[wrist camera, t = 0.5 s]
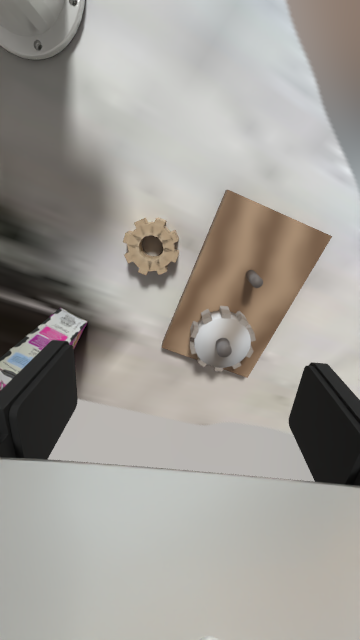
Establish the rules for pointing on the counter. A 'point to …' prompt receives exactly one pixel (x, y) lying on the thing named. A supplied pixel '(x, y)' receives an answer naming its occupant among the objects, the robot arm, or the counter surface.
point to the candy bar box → (40, 342)
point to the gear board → (242, 284)
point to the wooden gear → (137, 252)
